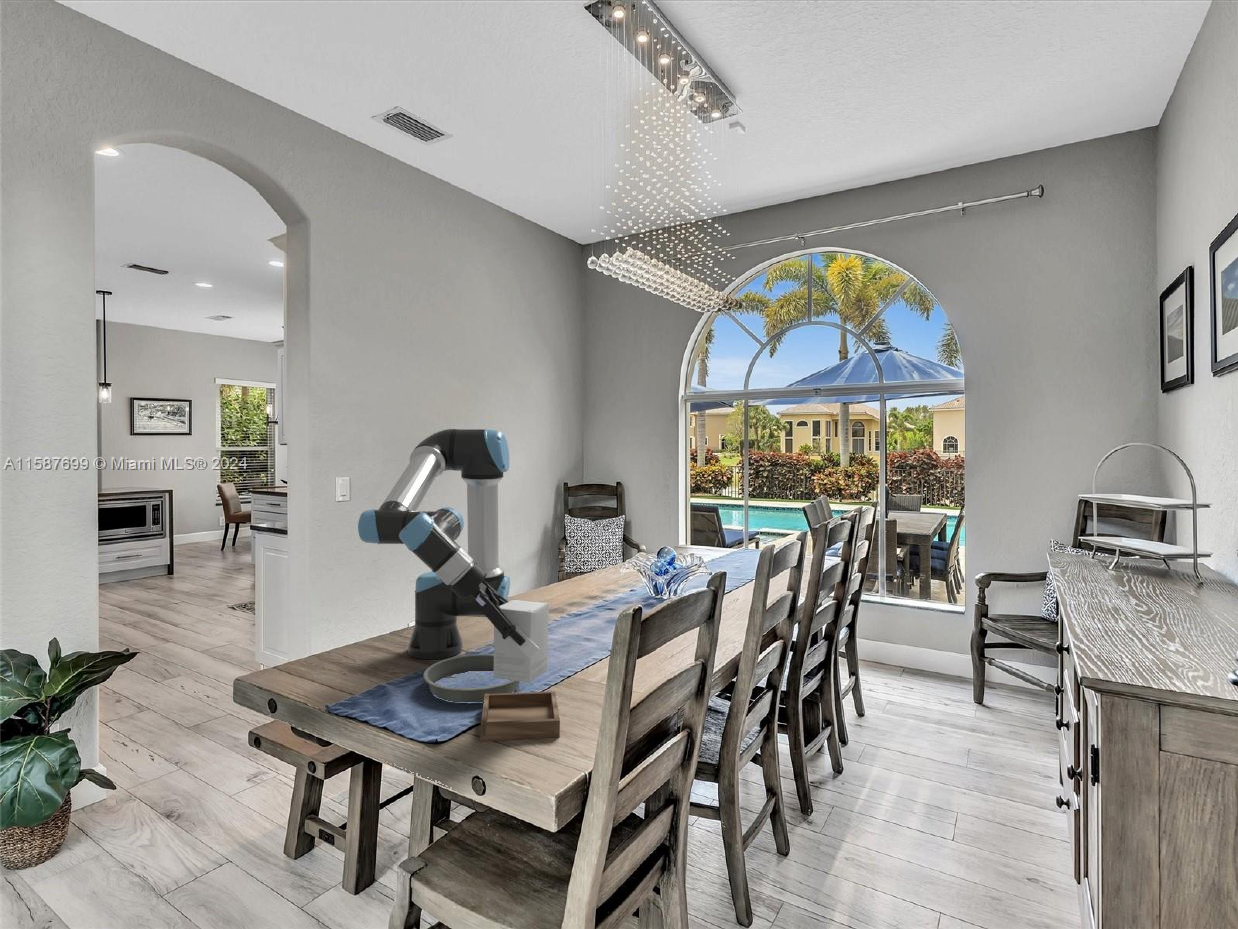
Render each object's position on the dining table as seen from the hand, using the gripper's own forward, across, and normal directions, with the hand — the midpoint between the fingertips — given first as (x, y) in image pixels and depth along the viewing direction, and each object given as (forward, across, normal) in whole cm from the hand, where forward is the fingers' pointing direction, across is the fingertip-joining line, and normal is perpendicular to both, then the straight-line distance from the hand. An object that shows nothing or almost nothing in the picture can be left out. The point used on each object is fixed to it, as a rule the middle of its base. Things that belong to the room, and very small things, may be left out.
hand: (533, 644), depth 137 cm
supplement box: (+3, 0, -6) cm, 7 cm away
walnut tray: (+10, 0, -14) cm, 17 cm away
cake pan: (+3, -22, -22) cm, 32 cm away
